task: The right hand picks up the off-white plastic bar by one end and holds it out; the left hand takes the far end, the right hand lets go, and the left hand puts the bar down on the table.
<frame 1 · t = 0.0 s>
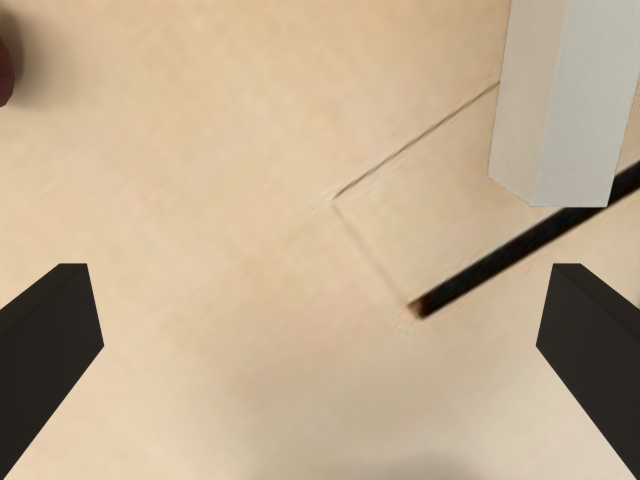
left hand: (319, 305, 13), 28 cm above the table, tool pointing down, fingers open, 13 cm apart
bar: (539, 34, 36), on the table
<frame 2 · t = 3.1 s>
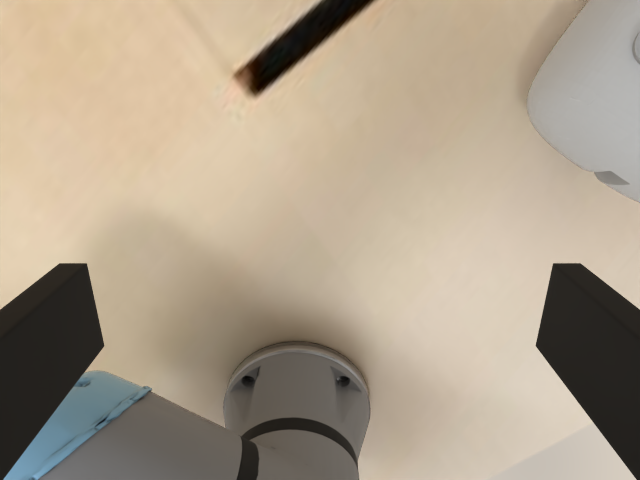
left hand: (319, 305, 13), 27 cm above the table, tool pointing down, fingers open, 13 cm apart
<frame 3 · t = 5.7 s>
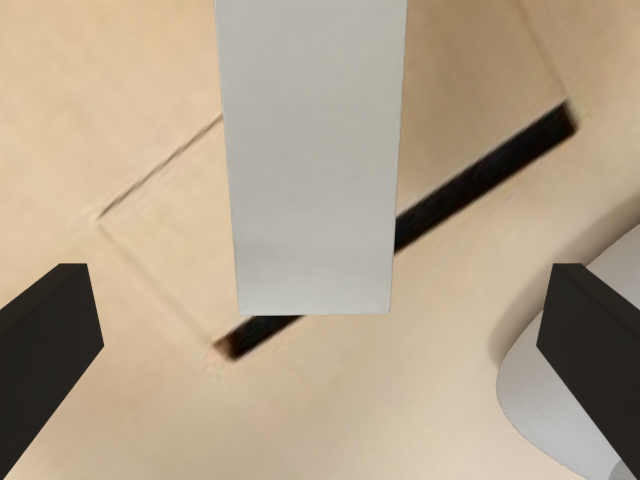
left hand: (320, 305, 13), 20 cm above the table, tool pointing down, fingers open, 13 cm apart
projector: (624, 309, 36), on the table
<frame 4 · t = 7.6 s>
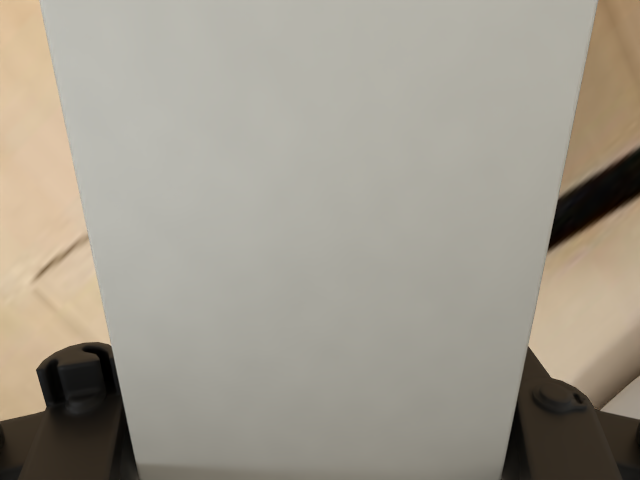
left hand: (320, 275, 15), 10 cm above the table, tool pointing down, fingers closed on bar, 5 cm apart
when the right hand's fingers open (13 cm above the table, at t = 8.4 s): bar stays where it is, held by the left hand.
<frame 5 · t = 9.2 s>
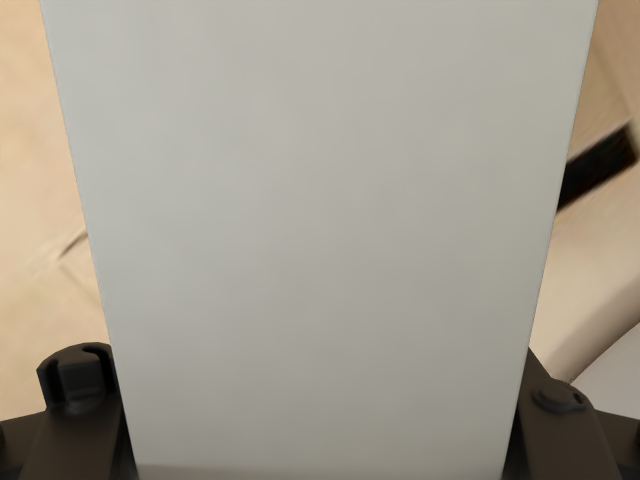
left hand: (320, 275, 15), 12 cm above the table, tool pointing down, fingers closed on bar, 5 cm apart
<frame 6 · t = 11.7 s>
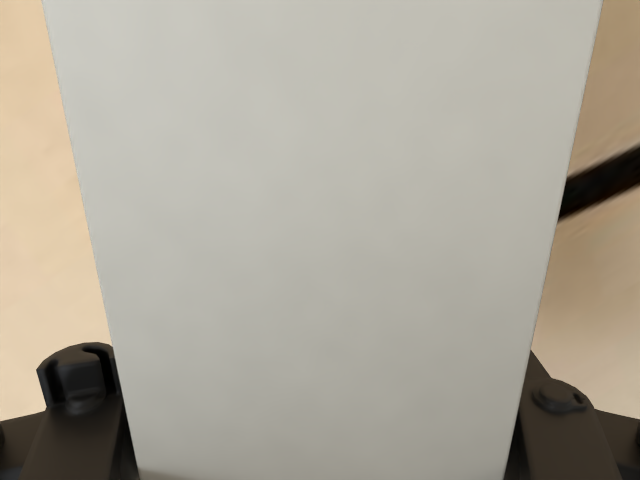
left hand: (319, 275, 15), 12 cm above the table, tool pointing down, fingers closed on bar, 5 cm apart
when the left hand's fingers open (2 cm above the table, at t = 15.9 s): bar drops 1 cm, on the table.
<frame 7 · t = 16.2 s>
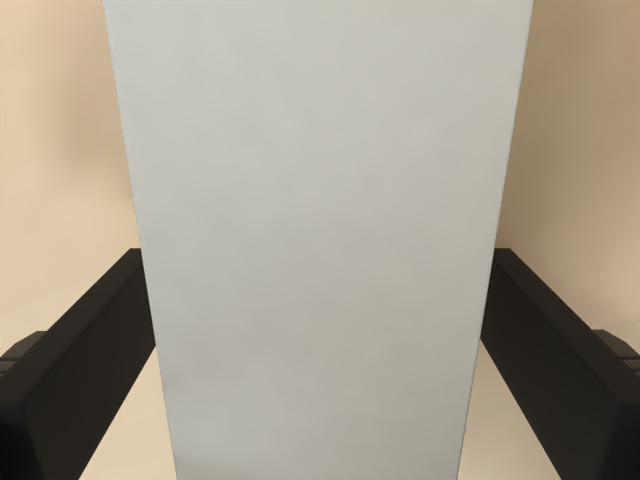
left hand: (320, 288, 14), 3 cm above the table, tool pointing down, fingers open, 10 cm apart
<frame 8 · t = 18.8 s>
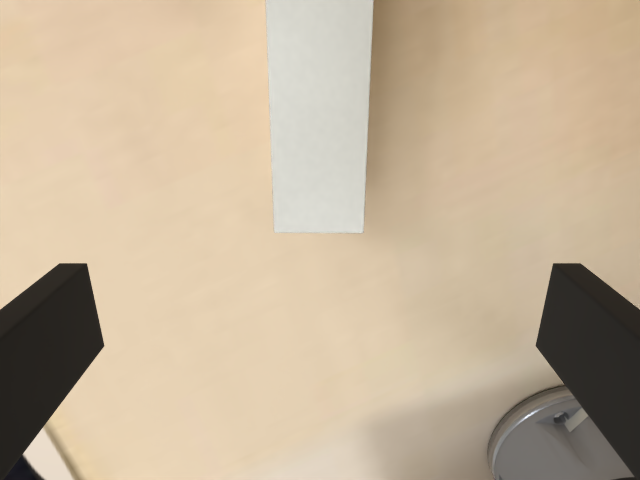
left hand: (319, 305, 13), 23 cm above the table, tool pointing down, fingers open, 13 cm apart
bar: (319, 30, 31), on the table
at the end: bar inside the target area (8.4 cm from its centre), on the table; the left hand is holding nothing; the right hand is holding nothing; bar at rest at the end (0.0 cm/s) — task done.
